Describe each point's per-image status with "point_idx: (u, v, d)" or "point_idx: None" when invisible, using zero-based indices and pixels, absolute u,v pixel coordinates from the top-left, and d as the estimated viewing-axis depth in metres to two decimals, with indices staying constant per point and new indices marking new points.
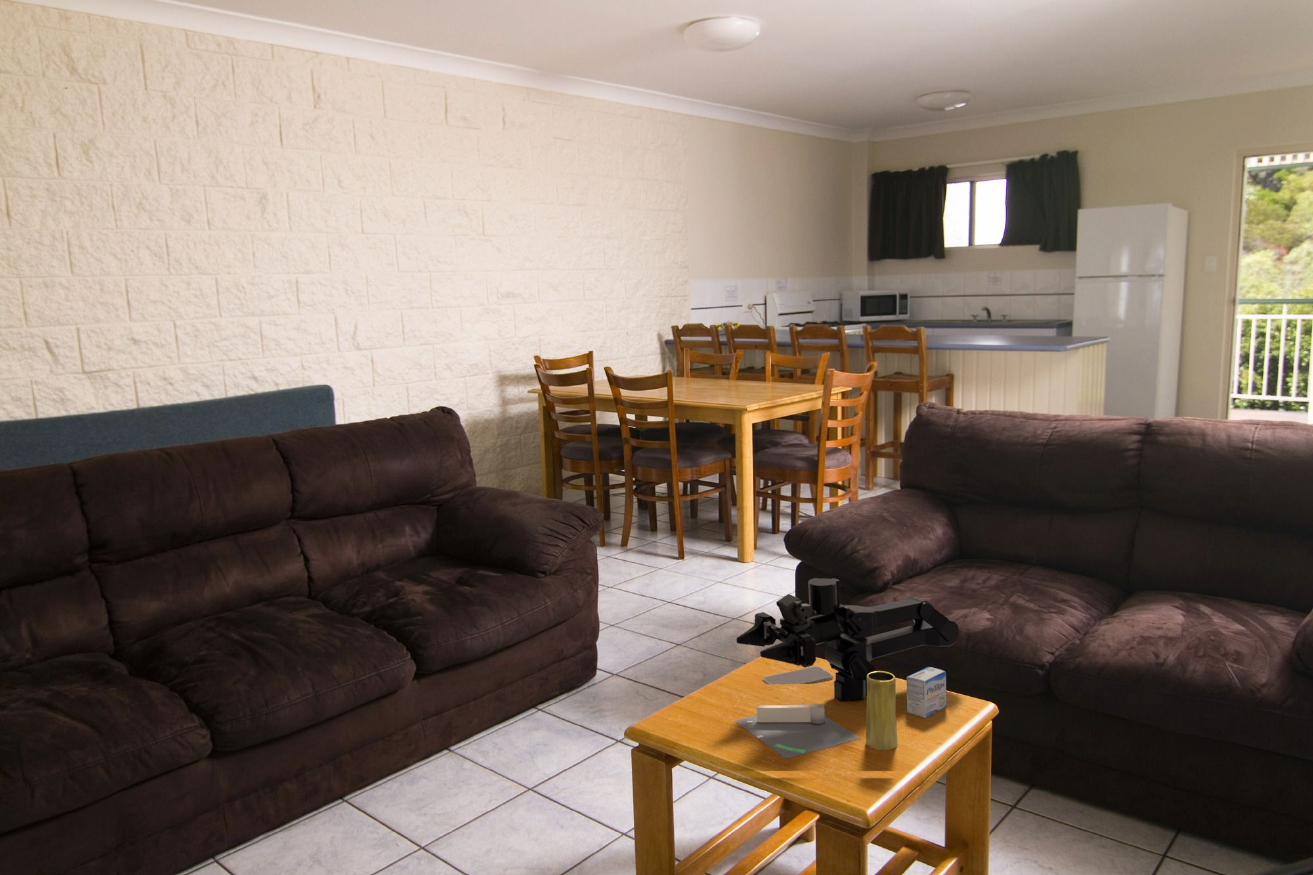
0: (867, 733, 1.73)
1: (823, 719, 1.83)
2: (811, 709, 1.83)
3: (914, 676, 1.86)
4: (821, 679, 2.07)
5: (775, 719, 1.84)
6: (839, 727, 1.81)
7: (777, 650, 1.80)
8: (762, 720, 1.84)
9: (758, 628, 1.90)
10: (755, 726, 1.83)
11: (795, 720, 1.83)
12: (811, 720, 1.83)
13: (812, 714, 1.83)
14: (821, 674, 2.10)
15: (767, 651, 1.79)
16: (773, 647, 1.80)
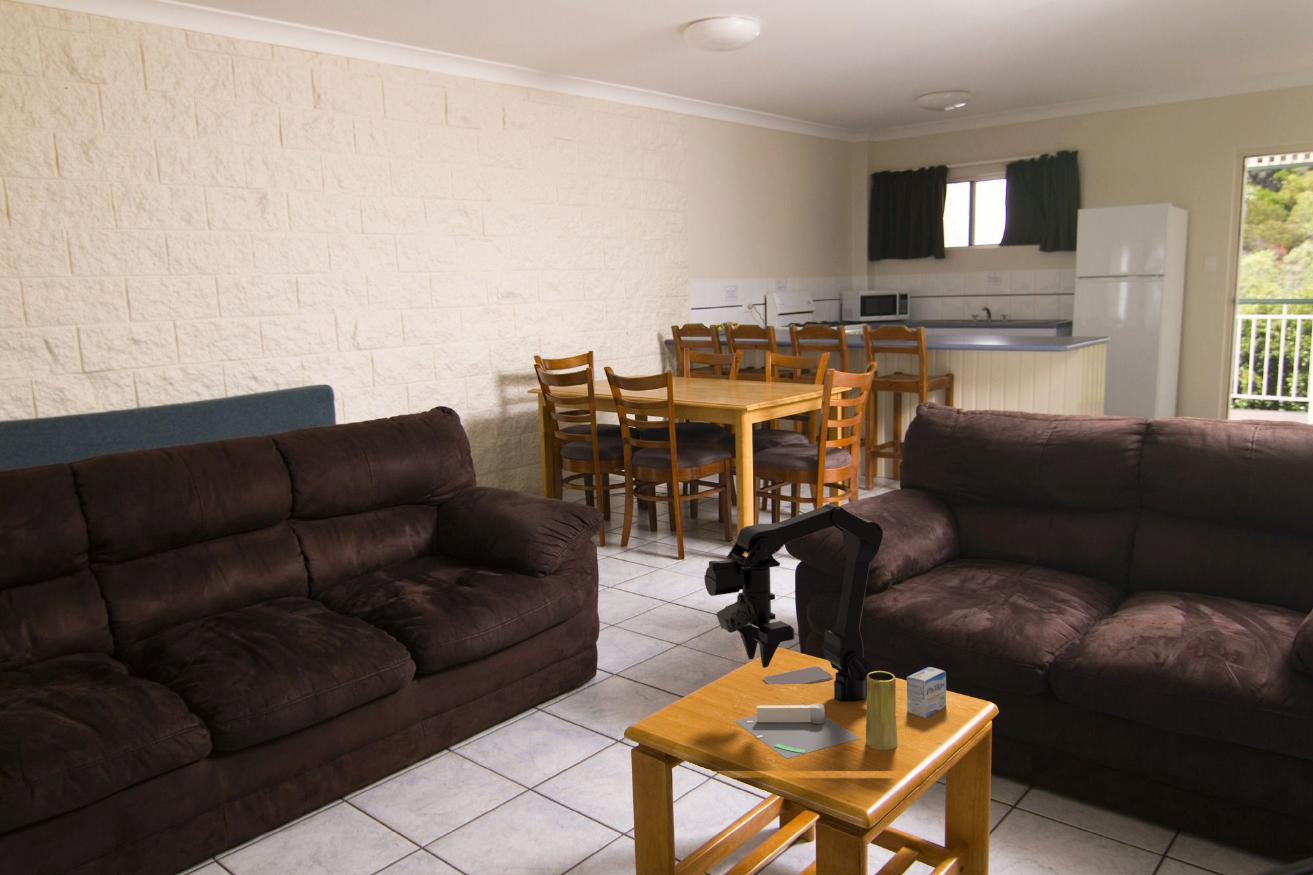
0: (867, 733, 1.73)
1: (823, 719, 1.83)
2: (811, 709, 1.83)
3: (914, 676, 1.86)
4: (821, 679, 2.07)
5: (775, 719, 1.84)
6: (839, 727, 1.81)
7: (765, 653, 1.83)
8: (762, 720, 1.84)
9: (744, 633, 1.89)
10: (755, 726, 1.83)
11: (795, 720, 1.83)
12: (811, 720, 1.83)
13: (812, 714, 1.83)
14: (821, 675, 2.10)
15: (764, 662, 1.84)
16: (762, 656, 1.83)
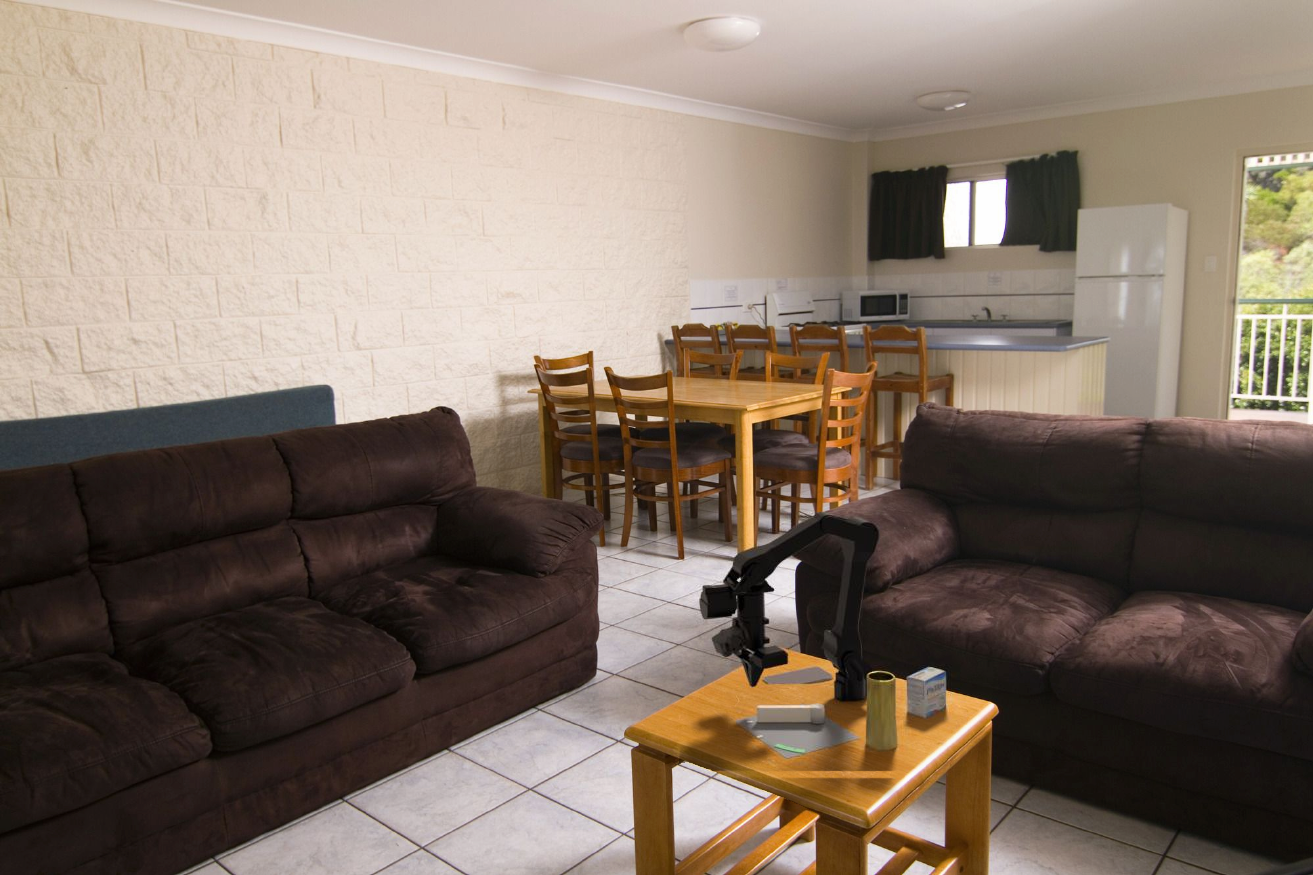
0: (867, 733, 1.73)
1: (823, 719, 1.83)
2: (811, 709, 1.83)
3: (914, 676, 1.86)
4: (821, 679, 2.07)
5: (775, 719, 1.84)
6: (839, 727, 1.81)
7: (754, 673, 1.88)
8: (762, 720, 1.84)
9: (745, 661, 1.89)
10: (755, 726, 1.83)
11: (795, 720, 1.83)
12: (811, 720, 1.83)
13: (812, 714, 1.83)
14: (821, 675, 2.10)
15: (752, 681, 1.89)
16: (750, 676, 1.89)
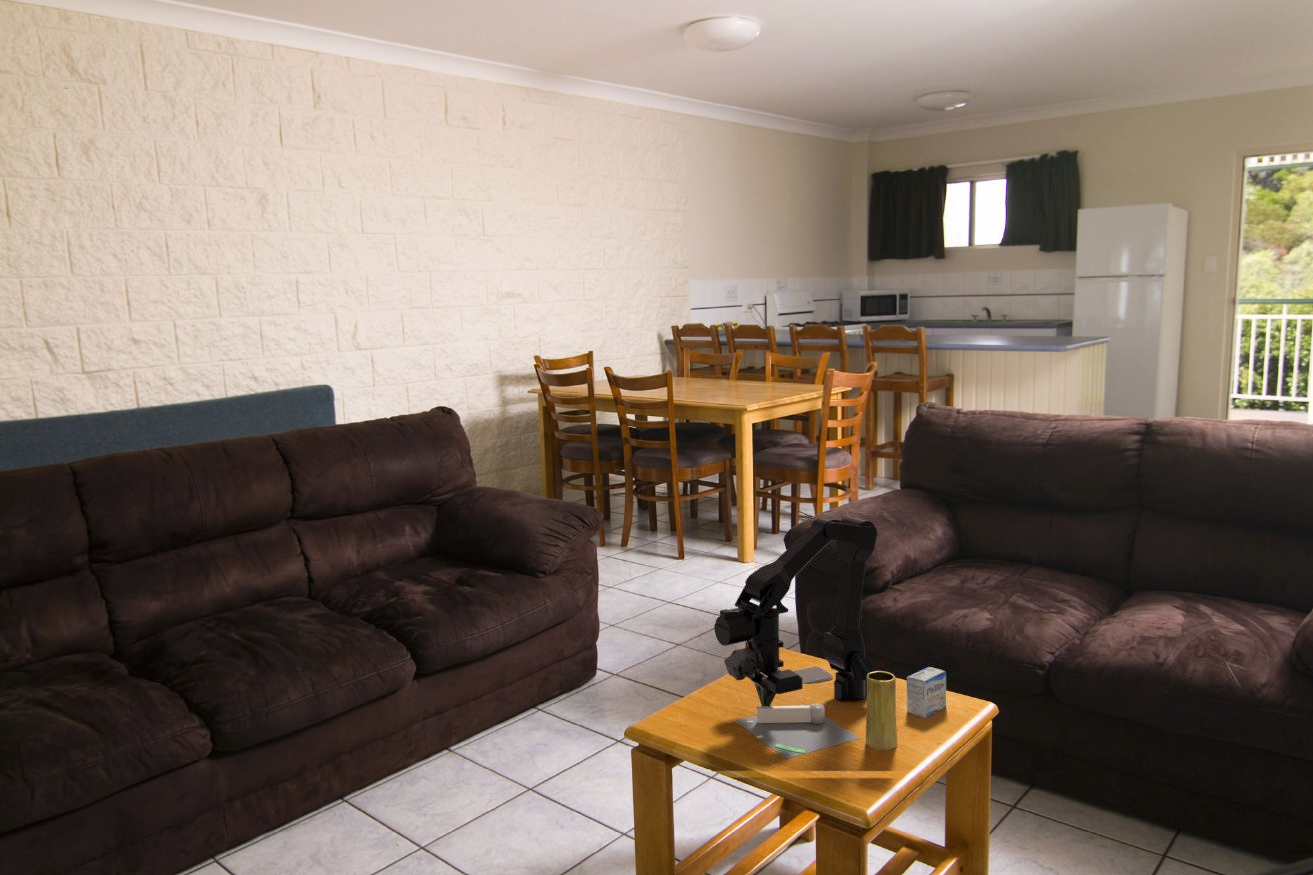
0: (867, 733, 1.73)
1: (823, 719, 1.83)
2: (811, 709, 1.83)
3: (914, 676, 1.86)
4: (821, 679, 2.07)
5: (775, 720, 1.84)
6: (839, 727, 1.81)
7: (766, 696, 1.84)
8: (762, 721, 1.84)
9: None
10: (755, 726, 1.83)
11: (795, 720, 1.83)
12: (811, 720, 1.83)
13: (812, 714, 1.83)
14: (821, 675, 2.09)
15: (764, 705, 1.85)
16: (762, 699, 1.84)
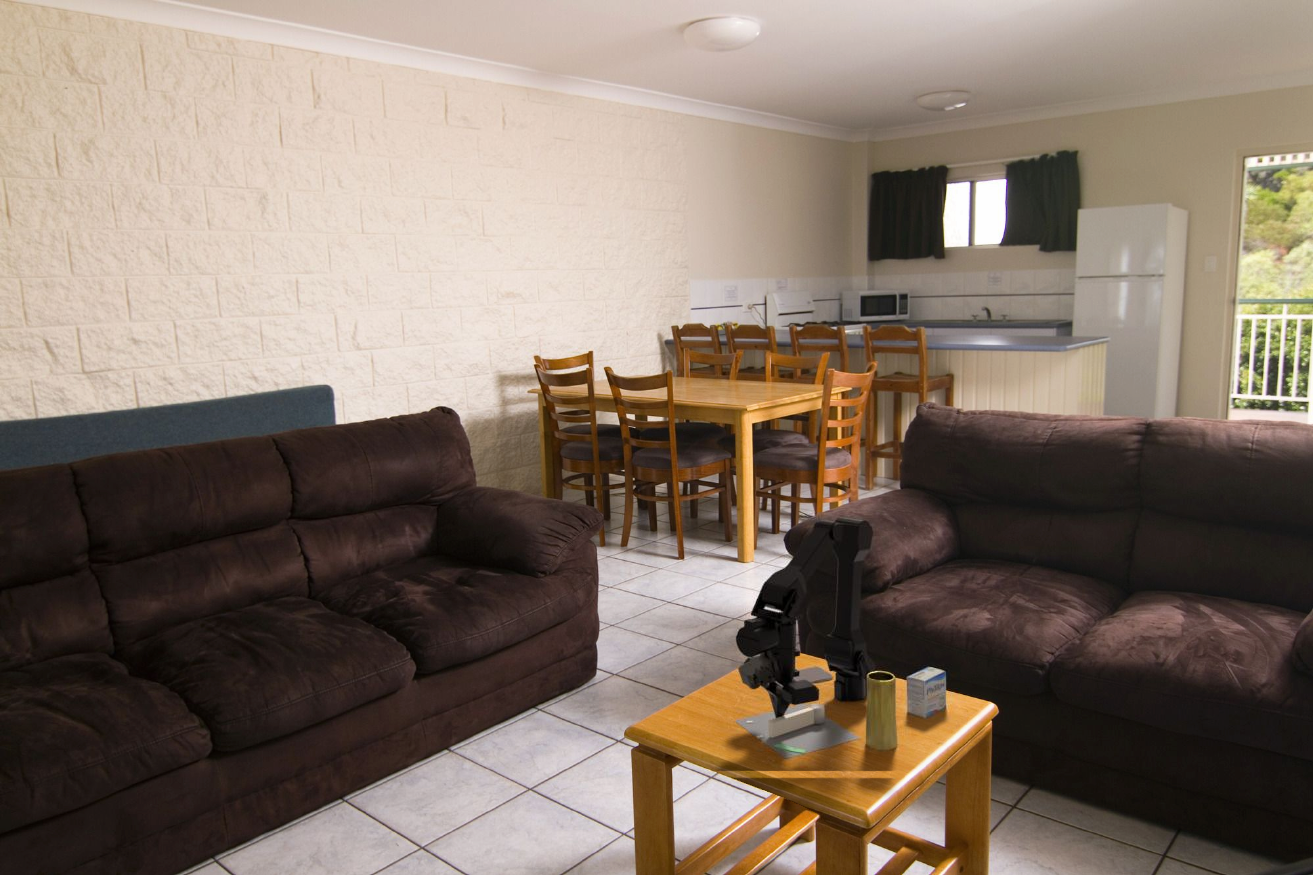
0: (867, 733, 1.73)
1: None
2: (815, 710, 1.82)
3: (914, 676, 1.86)
4: (821, 679, 2.07)
5: (787, 730, 1.79)
6: (839, 727, 1.81)
7: (780, 706, 1.78)
8: (776, 734, 1.77)
9: (773, 694, 1.79)
10: (755, 726, 1.83)
11: (802, 725, 1.81)
12: (815, 721, 1.82)
13: (816, 715, 1.82)
14: (821, 675, 2.09)
15: (778, 715, 1.79)
16: (776, 709, 1.79)
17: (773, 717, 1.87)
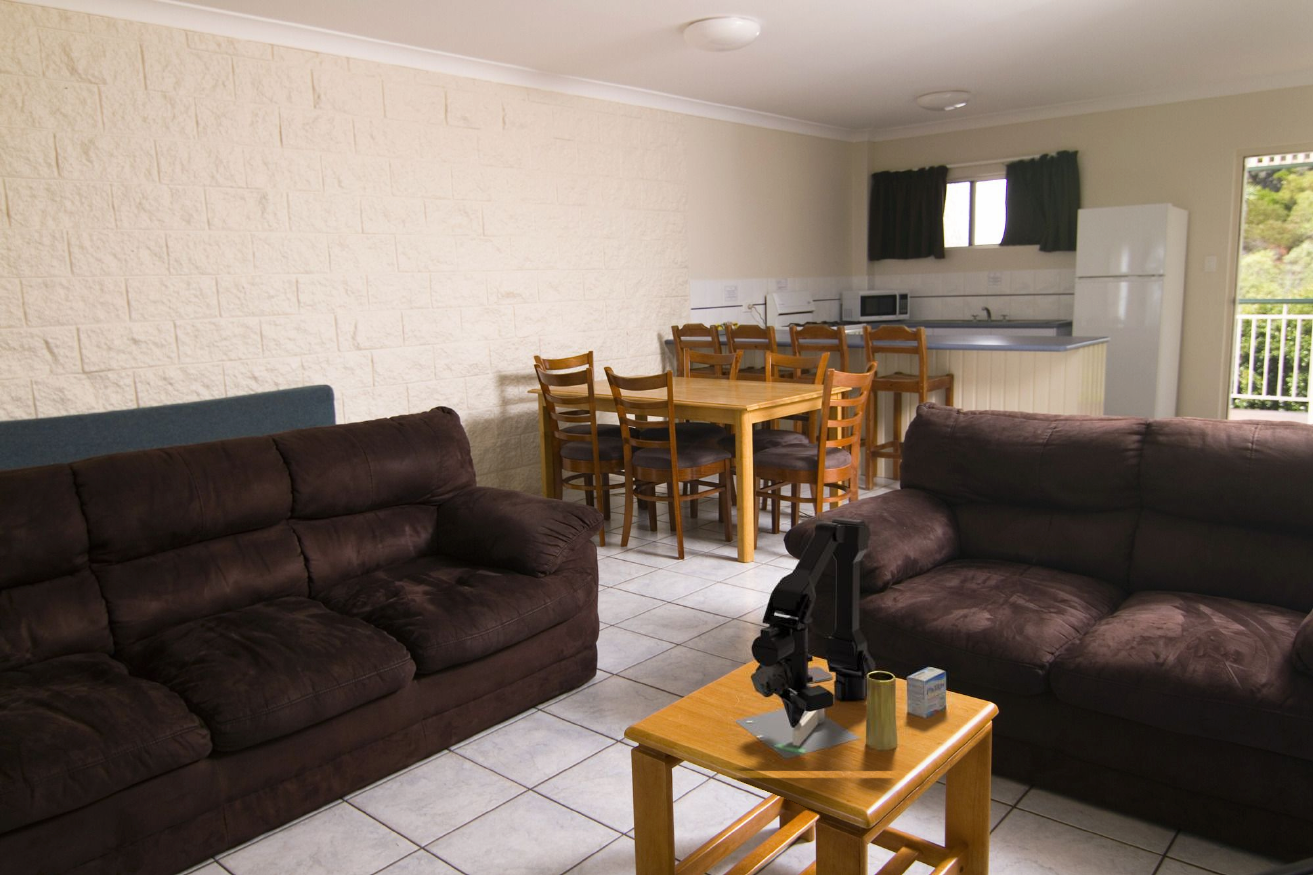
0: (867, 733, 1.73)
1: None
2: (819, 710, 1.82)
3: (914, 676, 1.86)
4: (821, 679, 2.07)
5: (805, 735, 1.76)
6: (839, 727, 1.81)
7: (795, 713, 1.75)
8: (800, 741, 1.74)
9: (786, 700, 1.76)
10: (755, 726, 1.83)
11: (812, 728, 1.80)
12: (819, 721, 1.82)
13: (820, 715, 1.82)
14: (821, 675, 2.09)
15: (793, 722, 1.76)
16: (791, 716, 1.76)
17: (773, 717, 1.87)
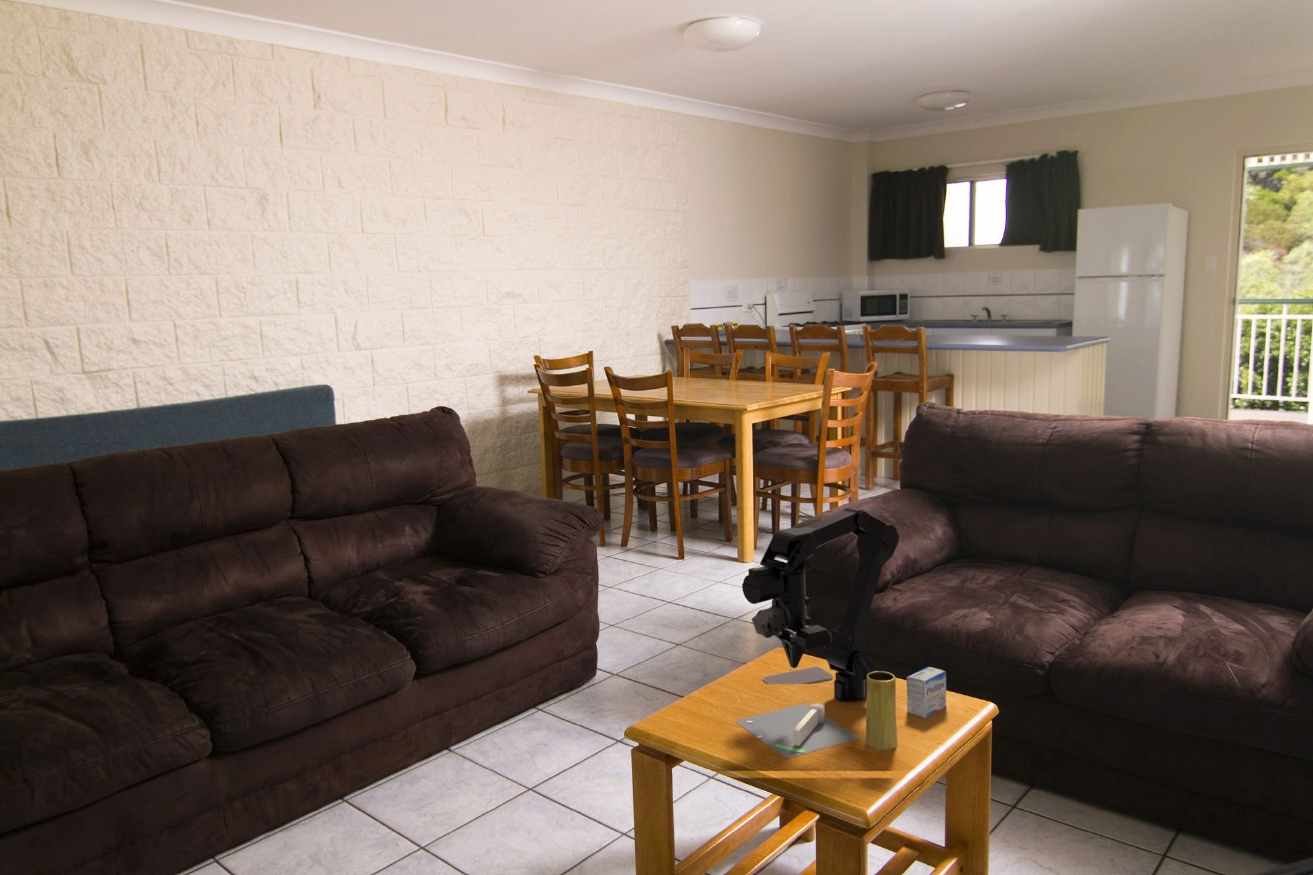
0: (867, 733, 1.73)
1: None
2: (819, 710, 1.82)
3: (914, 676, 1.86)
4: (821, 679, 2.07)
5: (805, 735, 1.76)
6: (839, 727, 1.81)
7: (795, 654, 1.84)
8: (801, 742, 1.74)
9: (785, 641, 1.85)
10: (755, 726, 1.83)
11: (812, 728, 1.80)
12: (819, 721, 1.82)
13: (820, 715, 1.82)
14: (821, 675, 2.09)
15: (793, 662, 1.85)
16: (791, 657, 1.85)
17: (773, 717, 1.87)
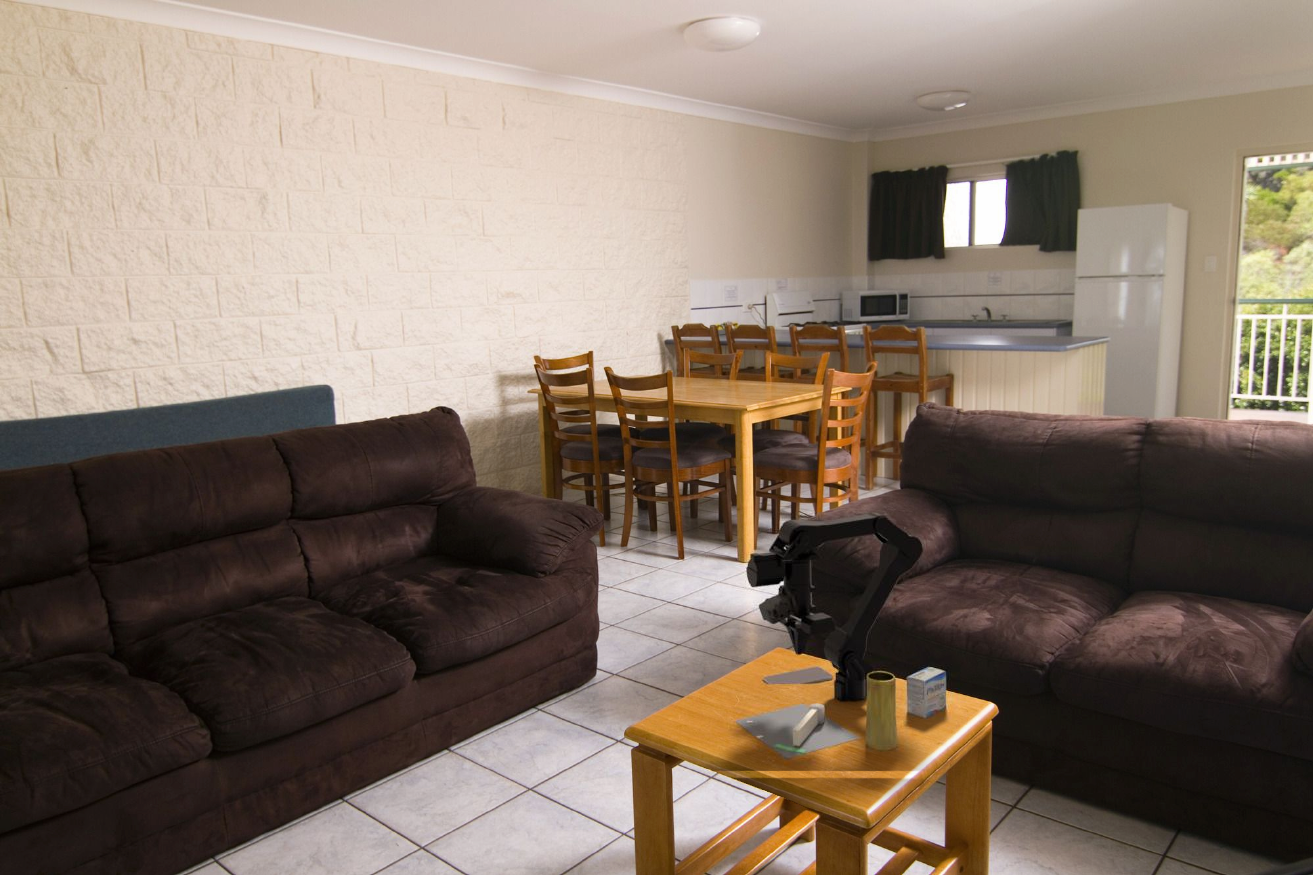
0: (867, 733, 1.73)
1: None
2: (819, 710, 1.82)
3: (914, 676, 1.86)
4: (821, 679, 2.07)
5: (805, 735, 1.76)
6: (839, 727, 1.81)
7: (800, 641, 1.90)
8: (801, 742, 1.74)
9: (791, 628, 1.91)
10: (755, 726, 1.83)
11: (812, 728, 1.80)
12: (819, 721, 1.82)
13: (820, 715, 1.82)
14: (821, 675, 2.09)
15: (798, 649, 1.90)
16: (796, 643, 1.90)
17: (773, 717, 1.87)
